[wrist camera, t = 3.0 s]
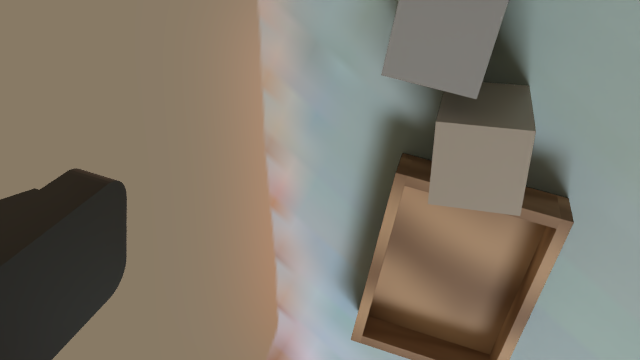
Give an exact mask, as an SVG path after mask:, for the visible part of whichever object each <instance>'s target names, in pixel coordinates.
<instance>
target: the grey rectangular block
mask: <svg viewBox="0 0 640 360" xmlns="http://www.w3.org/2000/svg"><path fill="white" fill-rule="evenodd" d="M508 2H509V0H399V1H398V5H397V10H396V14H395V18H394V23H393V27H392V31H391V36H390V40H389V44H388V49H387V53H386V57H385V62H384V66H383V70H382V74H381V75H383V76H387V77H391V78H395V79H399V80H403V81H406V82H410V83H414V84H418V85H422V86H426V87H430V88H434V89H438V90H442V91H446V92H450V93H454V94H457V95H461V96H465V97H469V98H473V99H477V97H478V94H479V91H480V88H481V84H482V81H483V78H484V75H485V72H486V69H487V66H488V63H489V60H490V57H491V54H492V51H493V48H494V45H495V41H496V38H497V35H498V32H499V29H500V26H501V23H502V20H503V17H504V14H505V11H506V8H507V5H508Z"/></svg>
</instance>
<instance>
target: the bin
mask: <svg viewBox="0 0 640 360" xmlns="http://www.w3.org/2000/svg"><path fill="white" fill-rule="evenodd" d="M431 166H432V161H430V160H427V159H423V158H419V157H416V156H412V155H409V154H405V153H402V156H401V159H400V162H399V165H398V168H397V171H396V174H395V177H394V181H393V185H392V189H391V192H390V196H389V200H388V203H387V207H386V211H385V215H384V218H383V222H382V226H381V229H380V233H379V237H378V241H377V244H376V248H375V252H374V255H373V259H372V263H371V267H370V270H369V274H368V278H367V281H366V285H365V289H364V293H363V296H362V300H361V304H360V308H359V311H358V315H357V319H356V322H355V326H354V330H353V334H352V337H351V340H353V341H356V342H359V343H362V344H365V345H368V346H371V347H374V348H377V349H381V350H384V351H387V352H390V353H393V354H396V355H399V356H402V357H405V358H408V359H411V360H509V359H510V357H511V355H512V353H513V351H514V349H515V346H516V344H517V342H518V340H519V338H520V336H521V334H522V332H523V329H524V327H525V325H526V323H527V321H528V319H529V317H530V315H531V312H532V310H533V308H534V306H535V304H536V302H537V300H538V297H539V295H540V293H541V291H542V289H543V287H544V285H545V283H546V280H547V278H548V276H549V274H550V272H551V270H552V268H553V266H554V263H555V261H556V259H557V257H558V255H559V253H560V251H561V249H562V246H563V244H564V242H565V240H566V238H567V236H568V234H569V232H570V229H571V227H572V225H573V223H574V221H573V217H572V212H571V207H570V203H569V198H566V197H562V196H558V195H555V194H551V193H547V192H544V191H540V190H536V189H533V188H529V187H525V193H524V198H523V204H522V209H521V215H520V216H516V215H508V214H500V213H493V212H485V211H477V210H470V209H462V208H454V207H447V206H439V205H431V204H428V197H429V187H430V176H431Z"/></svg>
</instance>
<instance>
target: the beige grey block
mask: <svg viewBox="0 0 640 360" xmlns="http://www.w3.org/2000/svg"><path fill="white" fill-rule="evenodd" d="M535 133H536V129H535V122H534V114H533V107H532V100H531V93H530V86H527V85H514V84H502V83H489V82H482V84H481V88H480V91H479V94H478V97H477V99H473V98H469V97H465V96H461V95H457V94H454V93H450V92H446V91H444V92H443V96H442V100H441V104H440V108H439V111H438V115H437V119H436V125H435V135H434V146H433V156H432V166H431V176H430V187H429V197H428V204H431V205H439V206H447V207H454V208H462V209H470V210H477V211H485V212H493V213H500V214H508V215H516V216H520V215H521V209H522V204H523V198H524V193H525V187H526V182H527V177H528V171H529V166H530V160H531V155H532V150H533V144H534V139H535Z"/></svg>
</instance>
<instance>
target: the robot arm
mask: <svg viewBox="0 0 640 360" xmlns="http://www.w3.org/2000/svg"><path fill="white" fill-rule="evenodd" d="M126 207H127V197H126V189H125V186H124V185H123V183H122V182H120V181H117V180H114V179H110V178H107V177H104V176H100V175H97V174H94V173H90V172H87V171H84V170H81V169H72V170H69V171H67V172H66V173H64V174H63V175H61V176H60V177H58V178H57V179H55V180H54V181H52V182H51V183H49V184H48V185H46V186H45V187H43V188H42V189H40V190H38V189H32V190H29V191H26V192H22V193H19V194H16V195H13V196H10V197H7V198H4V199H1V200H0V360H52V359H53V358H54V357H55V356H56V355H57V354H58V352H59V351H60V350H61V349H62V348H63V347H64V346H65V345H66V344H67V343H68V342H69V341H70V340H71V339H72V337H74V335H75V334H76V333H77V332H78V331H79V330H80V329H81V328H82V327H83V326H84V325H85V324H86V323H87V322H88V321H89V320H90V318H91V317H92V316H93V315H94V314H95V313H96V312H97V311H98V310H99V309H100V308H101V307H102V306H103V304H105V303H106V302H107V300H108V299H109V298H110V297H111V296H112V294H113V293H114V292H115V290H116V289H117V287H118V285H119V283H120V281H121V279H122V276H123V273H124V269H125V265H126V210H127V208H126Z"/></svg>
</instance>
